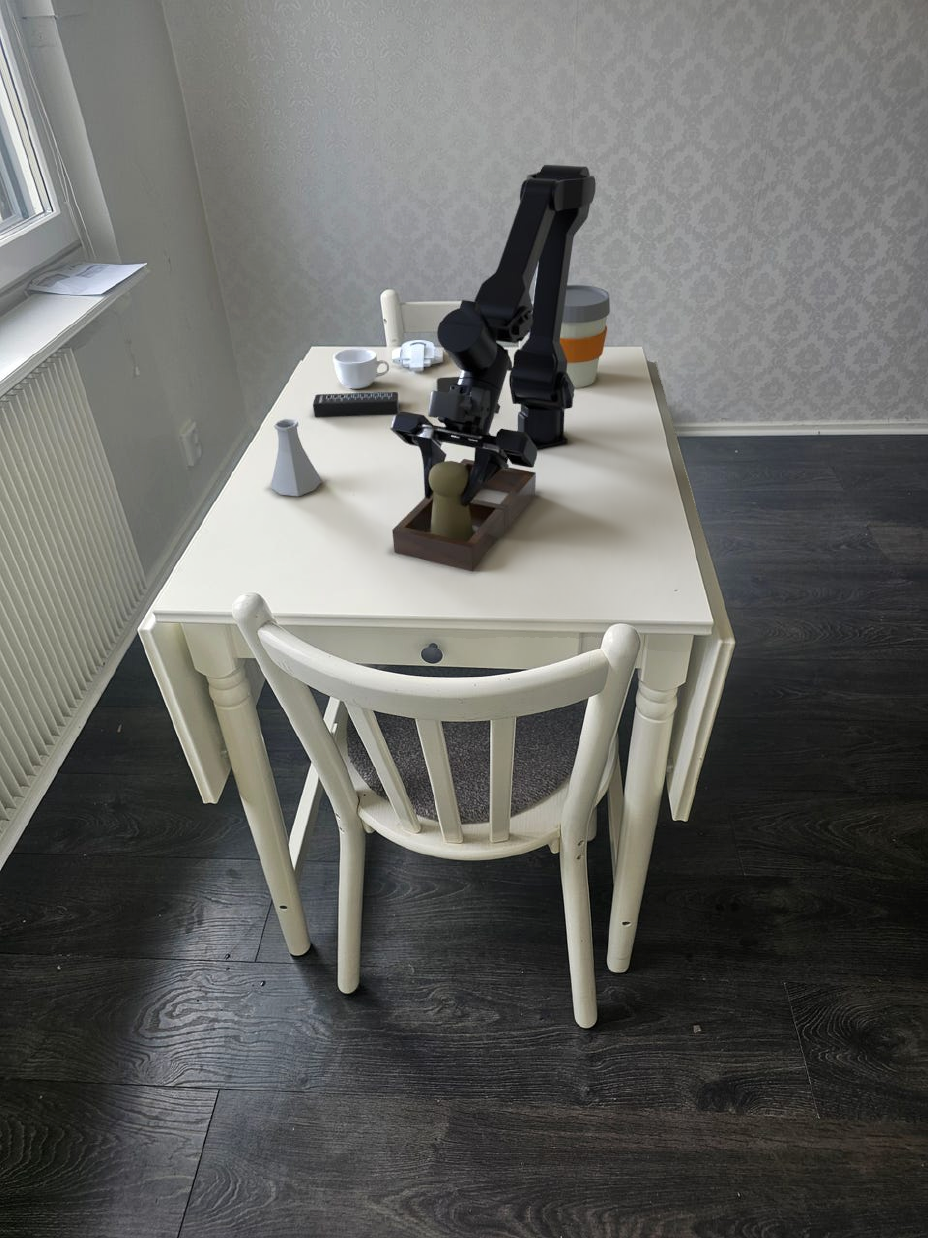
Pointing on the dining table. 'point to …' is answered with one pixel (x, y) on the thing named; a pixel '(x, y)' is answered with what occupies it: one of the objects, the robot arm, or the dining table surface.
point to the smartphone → (446, 383)
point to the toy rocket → (417, 355)
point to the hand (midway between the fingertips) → (445, 501)
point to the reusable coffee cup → (584, 331)
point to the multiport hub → (356, 404)
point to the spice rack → (482, 513)
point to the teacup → (357, 367)
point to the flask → (292, 463)
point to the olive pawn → (450, 501)
